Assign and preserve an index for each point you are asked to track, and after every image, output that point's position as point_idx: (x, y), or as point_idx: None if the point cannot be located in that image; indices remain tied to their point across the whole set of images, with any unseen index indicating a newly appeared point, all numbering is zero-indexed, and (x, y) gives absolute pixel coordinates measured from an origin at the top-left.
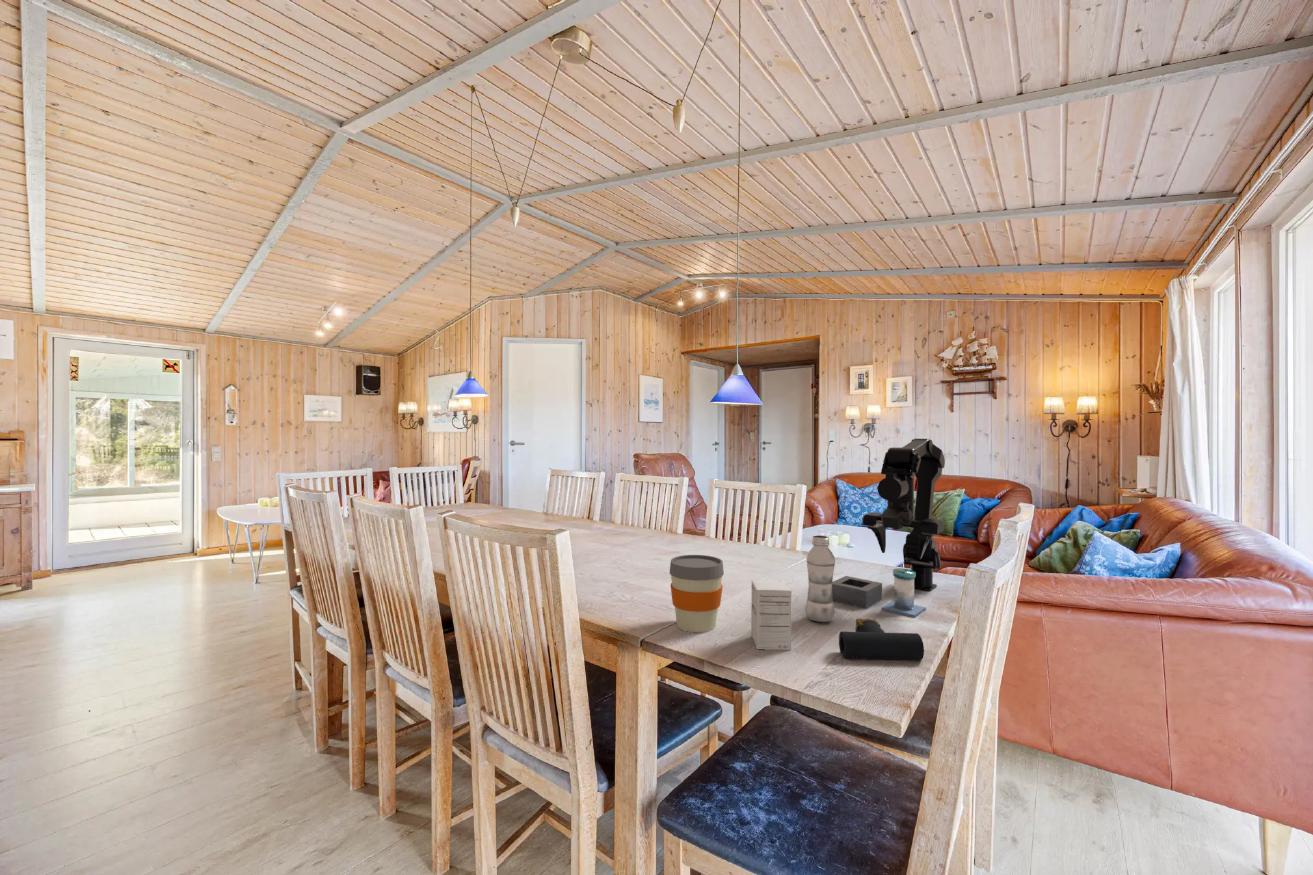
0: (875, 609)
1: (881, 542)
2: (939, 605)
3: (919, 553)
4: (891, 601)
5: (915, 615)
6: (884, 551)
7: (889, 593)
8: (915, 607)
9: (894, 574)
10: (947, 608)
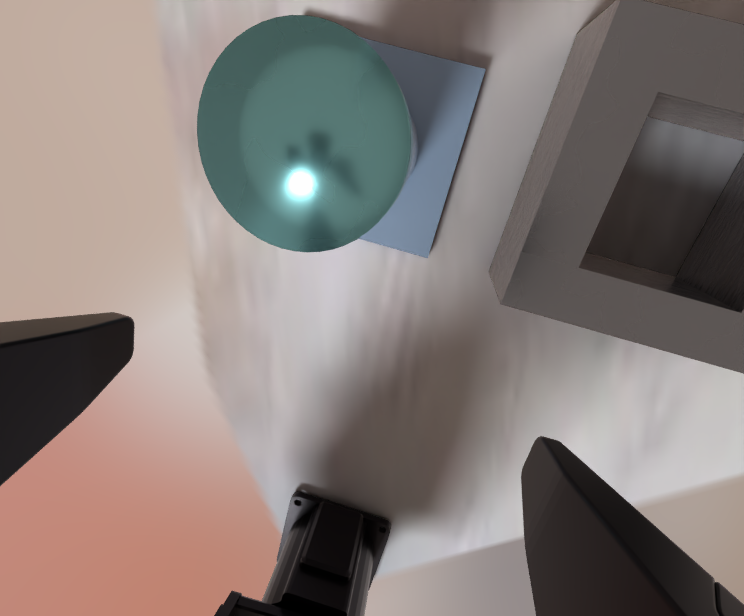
0: (519, 58)
1: (625, 536)
2: (230, 311)
3: (69, 326)
4: (436, 228)
5: None
6: (529, 466)
7: (456, 398)
8: None
9: (392, 74)
10: (194, 282)
